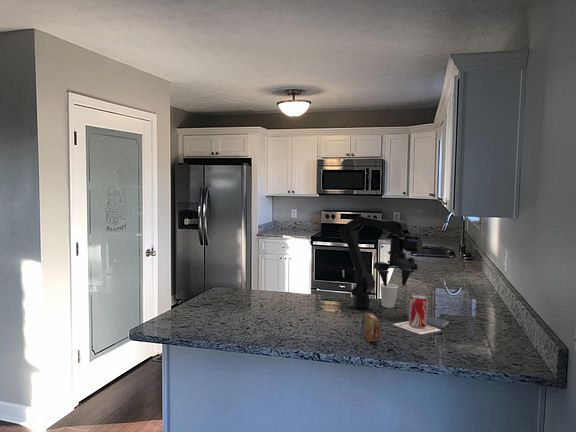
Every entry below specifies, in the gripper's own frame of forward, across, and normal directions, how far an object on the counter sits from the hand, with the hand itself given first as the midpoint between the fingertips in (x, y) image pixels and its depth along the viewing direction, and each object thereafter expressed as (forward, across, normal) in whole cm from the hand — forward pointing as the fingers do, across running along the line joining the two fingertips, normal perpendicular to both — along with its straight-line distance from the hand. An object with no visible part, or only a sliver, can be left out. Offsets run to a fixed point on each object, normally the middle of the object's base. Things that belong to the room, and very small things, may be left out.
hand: (394, 285), depth 196 cm
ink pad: (+13, +10, -13) cm, 21 cm away
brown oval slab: (+13, -26, -26) cm, 39 cm away
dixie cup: (+13, +7, +15) cm, 21 cm away
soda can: (+13, +1, -17) cm, 21 cm away
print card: (+13, 0, -18) cm, 22 cm away
